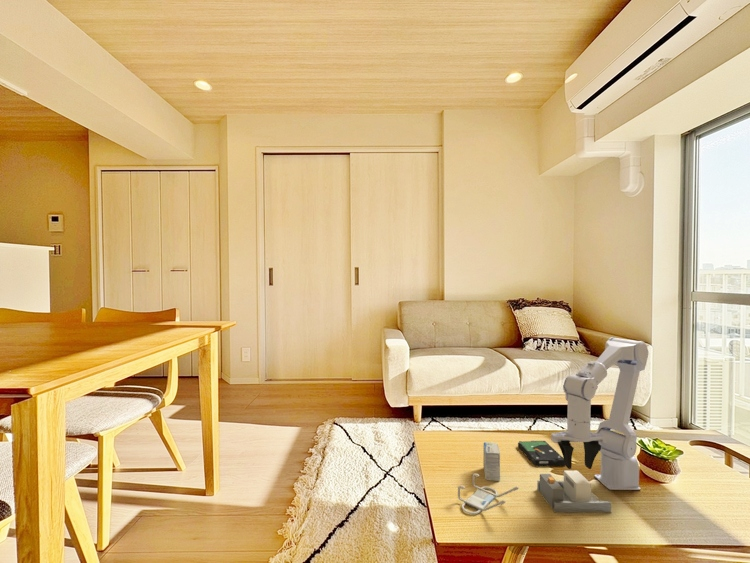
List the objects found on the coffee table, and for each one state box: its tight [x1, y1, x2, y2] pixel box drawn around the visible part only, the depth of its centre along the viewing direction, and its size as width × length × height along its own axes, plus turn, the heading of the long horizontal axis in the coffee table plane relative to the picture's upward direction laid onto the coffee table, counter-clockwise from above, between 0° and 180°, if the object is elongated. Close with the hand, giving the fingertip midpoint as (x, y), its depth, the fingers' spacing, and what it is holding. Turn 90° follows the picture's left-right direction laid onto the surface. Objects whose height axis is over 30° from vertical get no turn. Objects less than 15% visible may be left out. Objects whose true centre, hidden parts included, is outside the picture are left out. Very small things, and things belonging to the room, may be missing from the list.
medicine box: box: [482, 441, 501, 482], centre depth 122 cm, size 8×4×9 cm, turn 169°
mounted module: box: [539, 473, 564, 507], centre depth 109 cm, size 3×8×6 cm, turn 0°
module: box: [563, 470, 592, 501], centre depth 109 cm, size 4×7×6 cm, turn 0°
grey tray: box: [536, 480, 612, 514], centre depth 109 cm, size 15×11×3 cm
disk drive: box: [517, 440, 566, 467], centre depth 136 cm, size 10×3×15 cm
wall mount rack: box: [457, 473, 519, 515], centre depth 106 cm, size 16×14×6 cm
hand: (578, 467), depth 108 cm, fingers open, 5 cm apart
